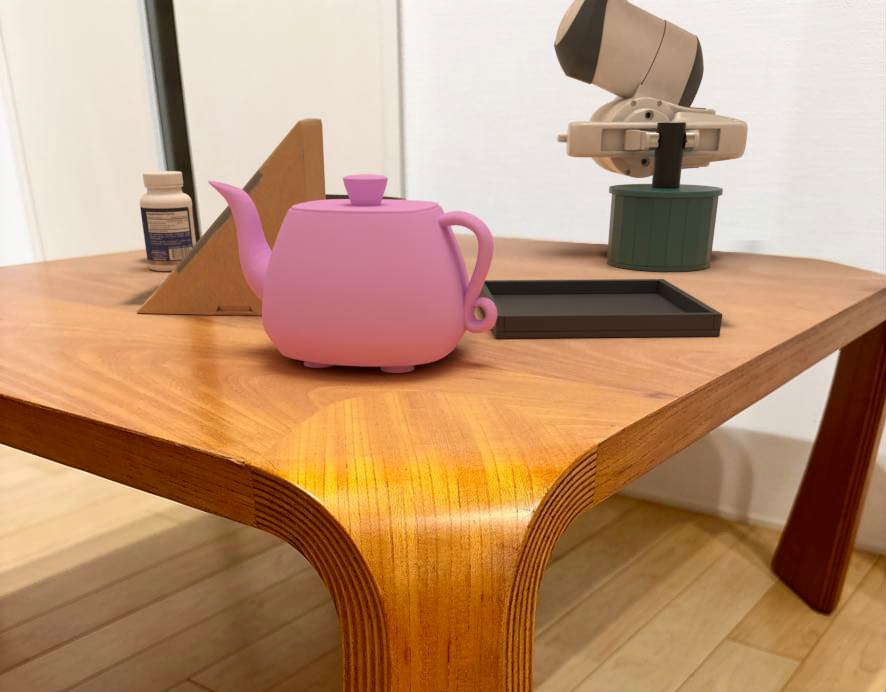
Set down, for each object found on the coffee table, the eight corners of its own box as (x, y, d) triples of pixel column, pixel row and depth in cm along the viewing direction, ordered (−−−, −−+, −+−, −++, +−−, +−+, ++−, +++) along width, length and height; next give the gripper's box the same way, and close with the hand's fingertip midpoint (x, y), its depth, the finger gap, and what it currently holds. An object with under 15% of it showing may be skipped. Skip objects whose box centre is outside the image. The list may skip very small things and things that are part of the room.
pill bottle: (159, 264, 102) (147, 170, 98) (206, 264, 102) (196, 170, 98) (140, 271, 97) (127, 173, 93) (189, 272, 97) (177, 173, 93)
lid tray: (661, 297, 84) (663, 278, 84) (719, 336, 70) (722, 313, 69) (476, 299, 83) (476, 280, 83) (495, 338, 69) (496, 315, 68)
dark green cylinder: (692, 256, 109) (699, 189, 106) (724, 271, 99) (733, 197, 95) (597, 257, 108) (602, 189, 105) (620, 272, 98) (626, 197, 95)
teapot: (513, 342, 67) (518, 171, 62) (475, 390, 56) (479, 184, 51) (262, 328, 72) (248, 166, 67) (178, 370, 60) (154, 178, 55)
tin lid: (701, 194, 106) (709, 122, 103) (737, 203, 95) (748, 123, 92) (597, 195, 106) (603, 121, 102) (622, 204, 95) (629, 122, 91)
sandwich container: (167, 295, 85) (146, 117, 78) (331, 297, 84) (322, 118, 77) (133, 313, 77) (106, 117, 70) (313, 316, 76) (302, 118, 70)
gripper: (555, 108, 108) (578, 108, 95) (725, 109, 109) (769, 108, 96) (552, 166, 111) (574, 172, 98) (718, 166, 112) (760, 172, 99)
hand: (672, 141), depth 97 cm, fingers closed on tin lid, 3 cm apart
